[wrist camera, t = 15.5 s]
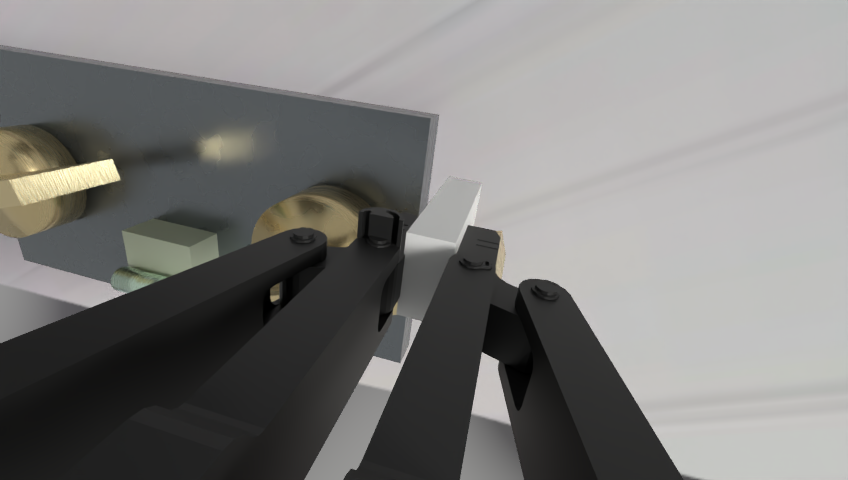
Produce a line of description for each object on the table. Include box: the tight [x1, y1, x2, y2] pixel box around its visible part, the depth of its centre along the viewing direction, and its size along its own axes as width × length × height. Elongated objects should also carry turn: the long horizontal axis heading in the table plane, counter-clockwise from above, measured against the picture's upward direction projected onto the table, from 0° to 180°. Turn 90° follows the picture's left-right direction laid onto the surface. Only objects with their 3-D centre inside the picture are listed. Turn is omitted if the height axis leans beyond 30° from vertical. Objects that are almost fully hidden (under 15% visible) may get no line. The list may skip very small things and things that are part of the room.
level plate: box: [0, 45, 439, 363], centre depth 26 cm, size 32×16×6 cm, turn 83°
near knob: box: [251, 185, 506, 315], centre depth 20 cm, size 14×7×8 cm, turn 102°
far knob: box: [0, 125, 121, 238], centre depth 24 cm, size 14×7×8 cm, turn 99°
